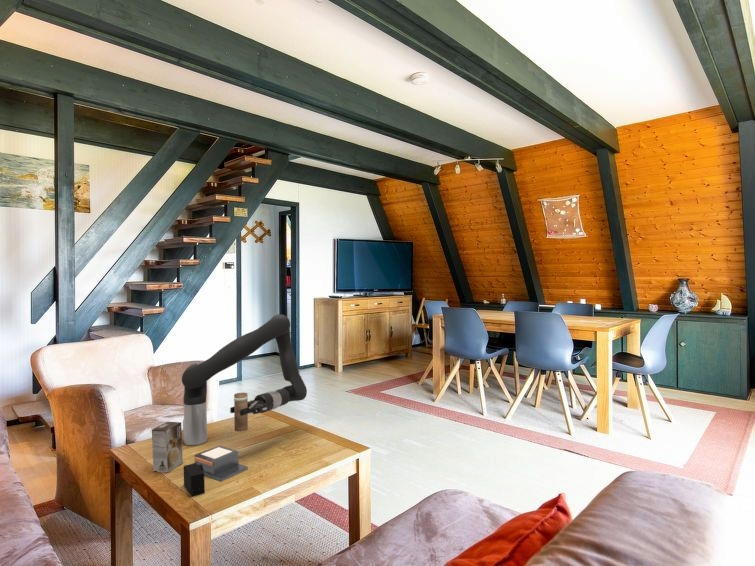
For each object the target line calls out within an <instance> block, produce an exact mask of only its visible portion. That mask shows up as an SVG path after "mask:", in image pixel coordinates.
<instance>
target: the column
mask: <svg viewBox="0 0 755 566" xmlns="http://www.w3.org/2000/svg"><path fill="white" fill-rule="evenodd" d="M233 401H234V403H233V404H234V405H233V407H234V413H233V414H234V431H235V432H238V433H241V432H245V431H248V428H249V427H248V426H249V425H248V424H249V422H248V421H249V420H248V418H249V417H248V415H249V413H248V414H245V415H242V416H241V415H240V410H241V409H245V408H248V401H249V396H248V392H236V393H234V395H233Z"/></svg>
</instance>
